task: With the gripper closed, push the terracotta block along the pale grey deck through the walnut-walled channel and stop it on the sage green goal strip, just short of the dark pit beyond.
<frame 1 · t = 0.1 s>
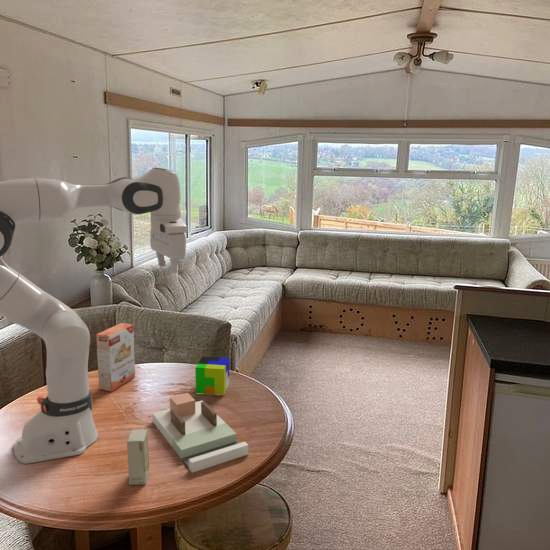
hand: (167, 269, 158), 48 cm above the table, tool pointing down, fingers open, 8 cm apart
skincare box: (139, 478, 136), on the table
cracker box: (118, 383, 190), on the table
puzzle toy: (213, 389, 187), on the table
deck: (197, 437, 155), on the table
channel walls: (193, 417, 156), on the deck, point 5 cm above the table
block: (182, 411, 164), point 3 cm above the table, touching deck
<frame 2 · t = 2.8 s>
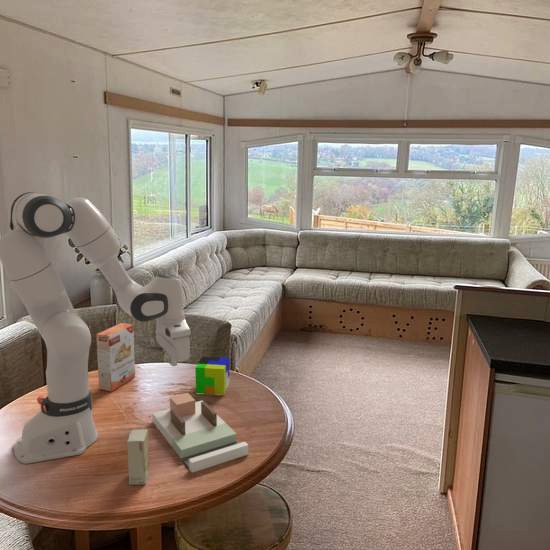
hand: (173, 364, 168), 16 cm above the table, tool pointing down, fingers closed
nothing on the table moved.
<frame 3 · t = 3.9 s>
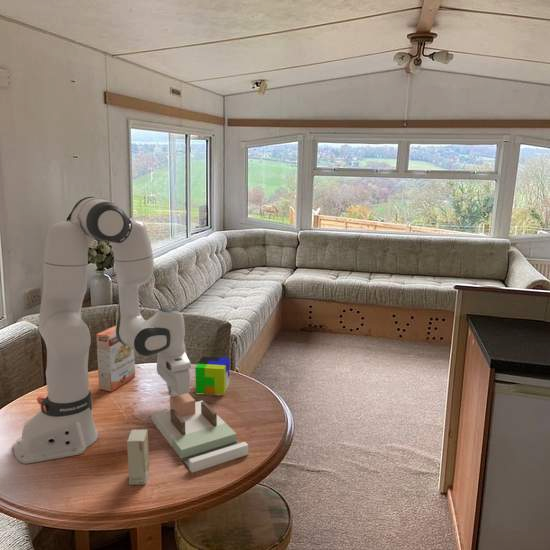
hand: (172, 396, 171), 5 cm above the table, tool pointing down, fingers closed
nothing on the table moved.
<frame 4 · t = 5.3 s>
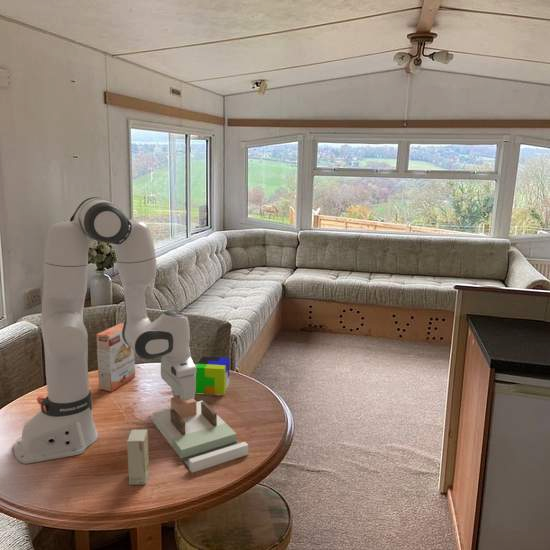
hand: (177, 401, 167), 5 cm above the table, tool pointing down, fingers closed
block: (183, 412, 163), point 3 cm above the table, touching deck, gripper
everything else where it was.
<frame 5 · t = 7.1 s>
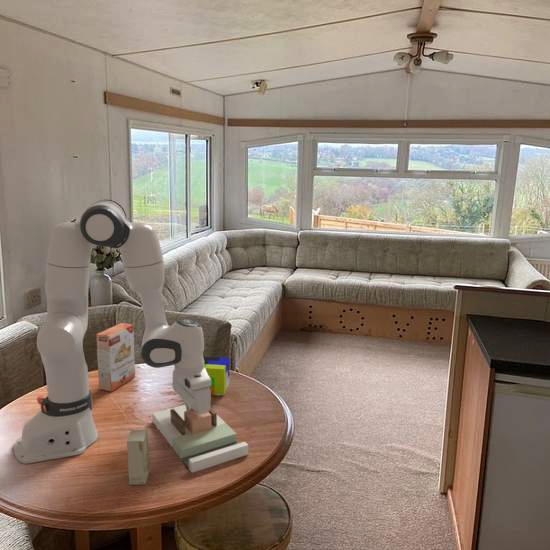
hand: (190, 414, 159), 5 cm above the table, tool pointing down, fingers closed
block: (197, 427, 155), point 3 cm above the table, touching gripper
everything else where it was.
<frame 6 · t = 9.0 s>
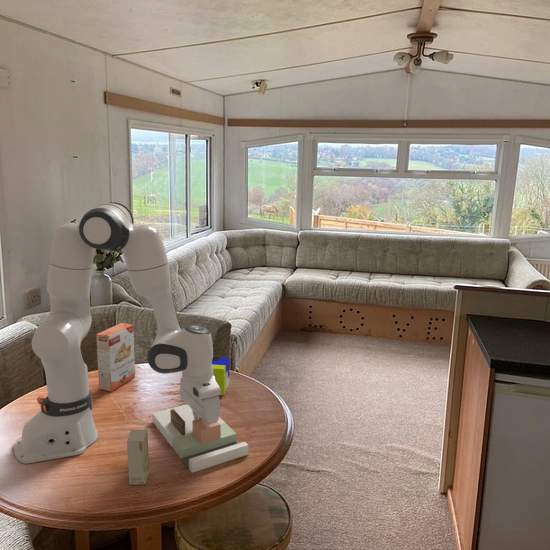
hand: (198, 424, 154), 5 cm above the table, tool pointing down, fingers closed
block: (206, 436, 150), point 3 cm above the table, touching deck, gripper
everything else where it was.
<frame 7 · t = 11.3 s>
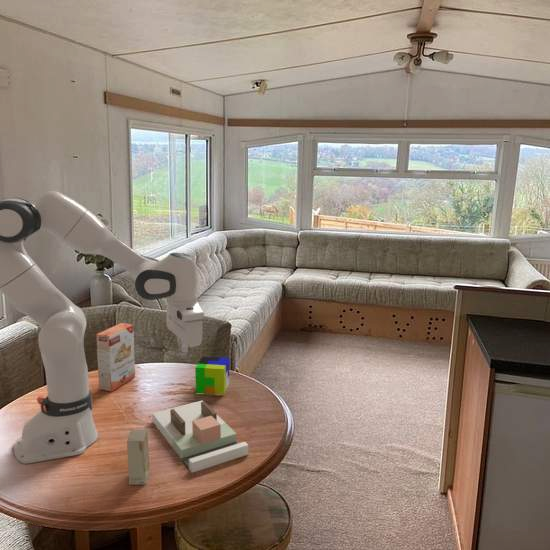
hand: (183, 350, 158), 24 cm above the table, tool pointing down, fingers closed
block: (206, 436, 150), point 3 cm above the table, touching deck
everything else where it was.
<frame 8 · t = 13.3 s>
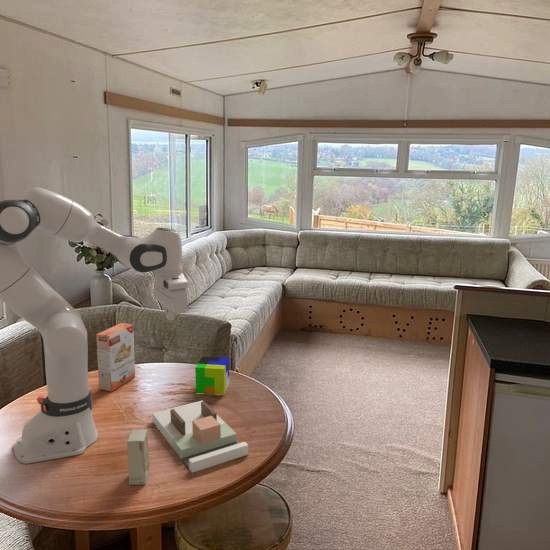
hand: (170, 319, 170), 29 cm above the table, tool pointing down, fingers closed
nothing on the table moved.
at the end: block inside the target area (0.6 cm from its centre), point 3.0 cm above the table; block tilted 0° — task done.
